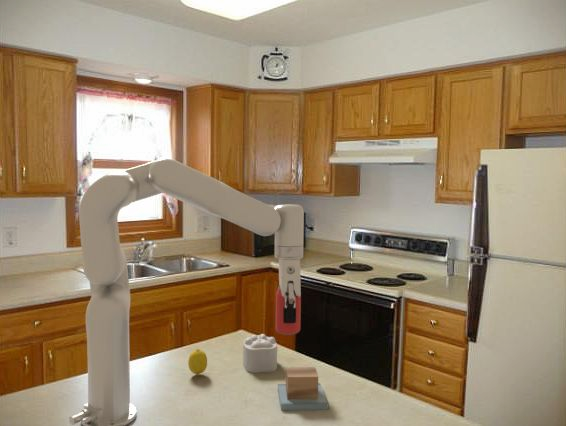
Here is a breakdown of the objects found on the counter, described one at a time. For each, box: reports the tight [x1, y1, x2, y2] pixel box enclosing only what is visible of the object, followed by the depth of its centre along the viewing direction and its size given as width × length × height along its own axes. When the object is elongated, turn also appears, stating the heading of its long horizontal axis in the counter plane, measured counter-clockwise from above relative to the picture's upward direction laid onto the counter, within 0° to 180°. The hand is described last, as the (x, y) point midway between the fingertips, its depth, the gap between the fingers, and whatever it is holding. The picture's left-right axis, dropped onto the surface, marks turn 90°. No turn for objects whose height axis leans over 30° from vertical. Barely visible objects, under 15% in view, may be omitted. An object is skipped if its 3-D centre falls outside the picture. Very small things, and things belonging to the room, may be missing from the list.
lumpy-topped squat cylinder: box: [242, 333, 278, 374], centre depth 153 cm, size 10×13×9 cm
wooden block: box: [285, 366, 319, 399], centre depth 129 cm, size 6×8×6 cm
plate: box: [277, 382, 328, 411], centre depth 130 cm, size 12×12×2 cm
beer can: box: [275, 286, 302, 336], centre depth 128 cm, size 7×7×12 cm
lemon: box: [187, 348, 208, 376], centre depth 143 cm, size 6×6×8 cm
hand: (288, 317), depth 128 cm, fingers closed on beer can, 6 cm apart
